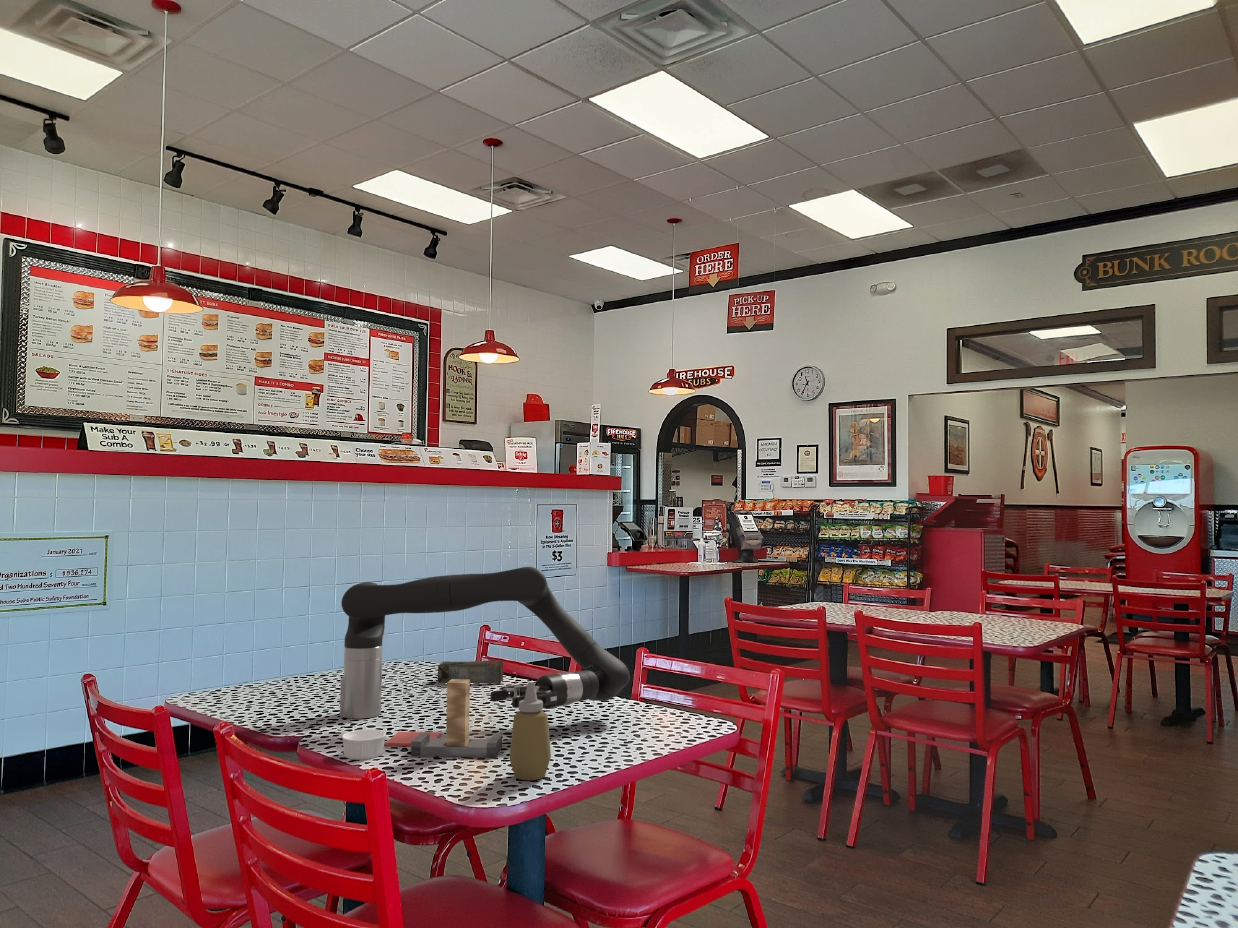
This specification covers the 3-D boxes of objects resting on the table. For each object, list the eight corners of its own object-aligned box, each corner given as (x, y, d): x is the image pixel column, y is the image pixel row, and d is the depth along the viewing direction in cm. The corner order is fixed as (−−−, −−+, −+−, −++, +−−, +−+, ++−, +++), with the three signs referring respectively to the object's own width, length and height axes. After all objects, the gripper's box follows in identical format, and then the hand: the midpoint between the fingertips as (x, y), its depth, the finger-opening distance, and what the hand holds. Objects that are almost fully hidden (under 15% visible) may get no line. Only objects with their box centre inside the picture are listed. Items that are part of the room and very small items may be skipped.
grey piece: (411, 755, 178) (411, 741, 178) (420, 746, 185) (420, 732, 185) (496, 757, 177) (496, 742, 177) (502, 748, 184) (502, 734, 184)
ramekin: (391, 756, 178) (391, 735, 178) (348, 763, 173) (348, 741, 173) (378, 747, 185) (378, 726, 185) (336, 753, 180) (337, 732, 181)
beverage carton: (441, 680, 261) (441, 658, 262) (503, 680, 262) (504, 658, 262) (436, 685, 253) (437, 663, 254) (501, 685, 254) (501, 663, 254)
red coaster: (384, 745, 186) (385, 742, 186) (398, 733, 196) (398, 731, 196) (430, 746, 185) (430, 743, 185) (441, 734, 195) (441, 732, 195)
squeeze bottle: (544, 784, 160) (545, 687, 161) (503, 781, 161) (504, 685, 162) (555, 771, 167) (556, 679, 169) (516, 769, 169) (517, 677, 170)
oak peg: (445, 754, 179) (447, 682, 180) (450, 749, 183) (451, 679, 184) (464, 754, 179) (465, 682, 180) (468, 749, 183) (469, 679, 184)
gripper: (540, 669, 206) (484, 678, 195) (578, 677, 195) (520, 687, 184) (540, 700, 205) (484, 711, 194) (578, 710, 195) (520, 722, 184)
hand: (502, 699), depth 189 cm, fingers open, 8 cm apart
